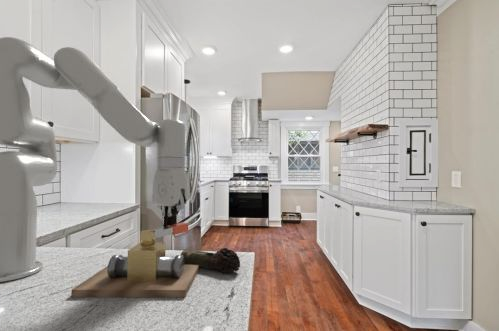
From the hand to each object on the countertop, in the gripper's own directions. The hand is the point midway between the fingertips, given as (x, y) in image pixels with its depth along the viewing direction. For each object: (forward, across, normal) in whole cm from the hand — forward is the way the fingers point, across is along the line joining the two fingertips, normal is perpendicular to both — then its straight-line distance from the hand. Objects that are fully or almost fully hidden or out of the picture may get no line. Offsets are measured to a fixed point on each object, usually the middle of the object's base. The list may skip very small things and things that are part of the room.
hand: (169, 230), depth 72 cm
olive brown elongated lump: (+11, +10, +7) cm, 16 cm away
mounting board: (+10, +3, -10) cm, 14 cm away
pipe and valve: (+9, +4, -9) cm, 13 cm away
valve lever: (+1, +3, -4) cm, 5 cm away
